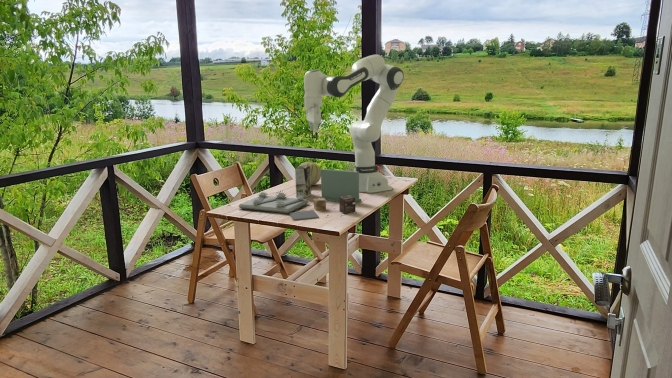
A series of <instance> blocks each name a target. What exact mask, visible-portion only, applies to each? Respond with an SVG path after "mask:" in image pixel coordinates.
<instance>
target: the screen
mask: <svg viewBox="0 0 672 378" xmlns="http://www.w3.org/2000/svg"><path fill="white" fill-rule="evenodd" d="M320 170H321V178H320V186H321V191H320V192H321V196H319V198H324V199H325V200H326V201H331V202H338V203H339V197H342V196H352V197H354V198H355V205H356V203H357V204H358V202H359V203H361V202H362V198H360V192H359V172H356V171H353V170H342V169H329V168H328V169H326V168H320Z"/></svg>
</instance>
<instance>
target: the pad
mask: <svg viewBox="0 0 672 378" xmlns="http://www.w3.org/2000/svg"><path fill="white" fill-rule="evenodd" d="M288 214H289V216H290V217H291V219H292V220H295V221H301V220H303V221H305V220H312V219H320V216H319V215H318V214H317V212H316V210H315V209H314V210H303V211H301V210H300V211H292V212H290V213H288Z"/></svg>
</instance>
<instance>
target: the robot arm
mask: <svg viewBox="0 0 672 378" xmlns="http://www.w3.org/2000/svg"><path fill="white" fill-rule="evenodd" d="M404 75H405V73H404V71H403V69H401V68H400V67H397V66H394V65H391V64H387V63H386V61H385V59H384V57H383V56H382V55H380V54H372V55H368V56H366V57H365V56H364V57H362V58H360V59H358V60H357V61H355V62H354V63H353V64H352V66H351V72H350V73H349V74H346V75H345V76H344V75H343V76H342V75H335V76H329V75H327V74H325V73H323V72H321V70H320V69H310V70H307V71H306V72H305V74H304V78H303V89H304V90H303V91H304V95H303V98H304V99H303V100H304V101H303V105H304V109H305V117H306V121H307V122H308V125H309V131H313V133H318V132H319V124H322V110H321V108H322V107H323V97H335V98H342V97H344V96H345V95H346V94H347V93H348V92H349V90H350V89H352V88H353V87H355V86H357V85H358V84H360V83H362V82H365V81H367V80H371V81H372V82H374V83H377V84H379V86H378V87H379V88H378V89H377V91H376V92H375V94H374V96H373V97H372V99H371V100H370V103H369V104H368V105H367V107H366V114H365V117H364V118H363V120H360V119H359V120H355V121H353V122H352V123H351V124H350V125H349V130H348V131H349V134H350V135H351V139H352V144H353V148H354V158H355V159H354V161H355V164H354V169H353V170H354V171H356V172H359V193H367V194H372V193H378V192H379V193H380V192H387V191H393V186H392V185H391V184H389V179H388V177H386V176H385V175H383V174H382V173H381V172H379V171H380V170H381V168H382V167H381V166H379V165H376V164H375V163H376V155H375V153H376V152H375V150H374V147H373V145H372V143H374V142H377V140H379V139H380V137H381V134H382V133H381V132H382V130H381V129H382V125H383V121H384V120H385V117H386V115H387V114H388V112H389V110H390V109H391V107H392V105H393V103H394V102H395V99H396V97H397V93H398V89H399V87H400V86H401V85H402V83H403V81H404V78H405V77H404Z"/></svg>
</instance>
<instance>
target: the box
mask: <svg viewBox="0 0 672 378" xmlns="http://www.w3.org/2000/svg"><path fill="white" fill-rule="evenodd" d="M338 203H339V204H338V206H339V209H338V210H339V212H340V213H342V214H344V215H348V214H353V213H354V212H355V213H356V204H355V198H354V197H352V196H342V197H339V202H338Z"/></svg>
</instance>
